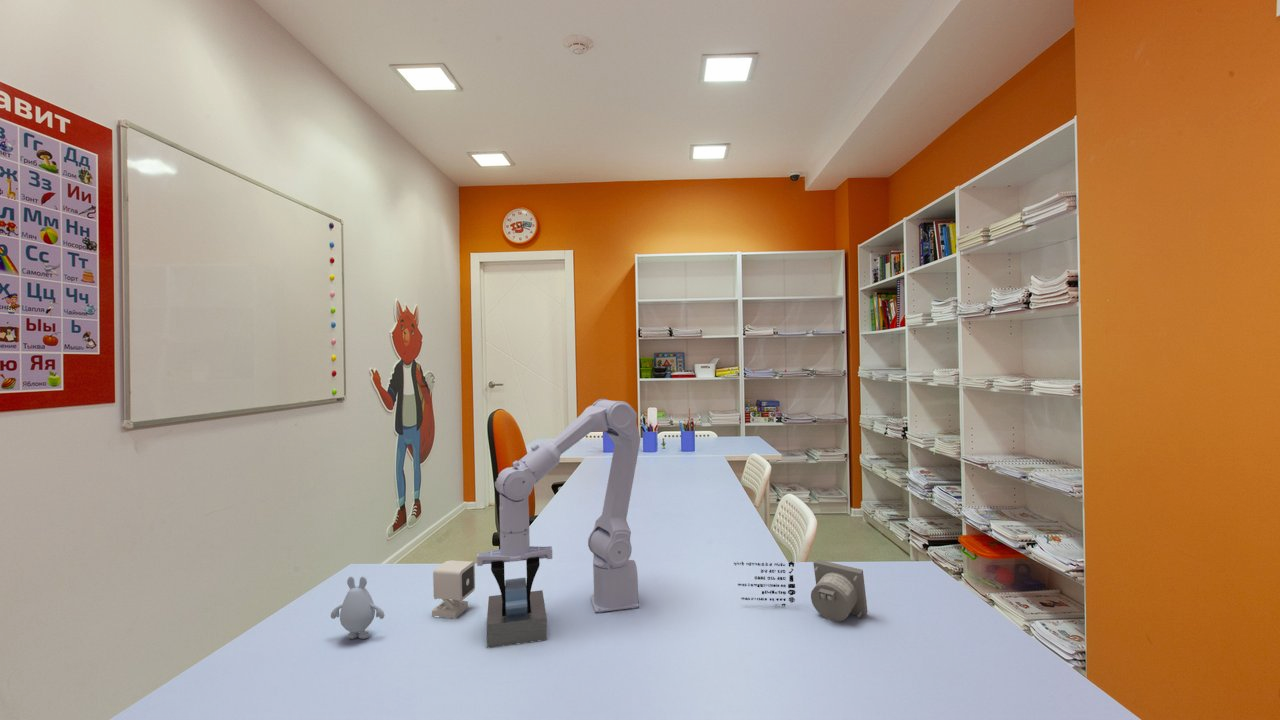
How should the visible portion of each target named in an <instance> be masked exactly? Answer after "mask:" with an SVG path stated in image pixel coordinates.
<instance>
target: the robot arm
mask: <svg viewBox="0 0 1280 720" xmlns="http://www.w3.org/2000/svg"><path fill="white" fill-rule="evenodd" d="M637 419H638V413H637V411H635V409H634V408H633V407H632V406H631V404H629V403H628V402H626V401H622V400H609V399H607V398H599V399H597V400H596V401H594V402H593V403H592V405H589V406H587V407H586V408H585V409H584V411H583V412H582V413H581V414H580V415H579V416H578V417H577V418H575V419H574V420H573V421H572V422H571V423H570V424H569V425H568V426H567V427H566V428H565V429H563V430H562V431H561V432H560V433H559V434H558V435H557V436H556V437H555V438H553V440H551V441H550V442H543V441H542V442H540V443H539V444H537V443H534V444H532V445H531V447H530V449H531V450H530V451H529V452H528V453H527V454H525V455H524V456H523V457H521V458H520V459H519V460H514V461H513V462H512V465H513V466H510V467H506V468H504V469H502V470H501V471H500V472H499V473H498V475H497V476H498V477H497V478H496V480H495V481H494V486H495V489H496V491H497V492H498V493H499V507H498V509H499V511H498V512H499V542H500V543H499V547H500V548H499V549H494V550H489V551H484V552H478V553H477V554H476V566H477V567H481V566H483V565H490V571H491V574H492V575H493V577H494V578H495V581H496V583H497V585H498V588H499V591H500V595H502V601H506V597H505V580H506V579H505V563H513V562H520V561H525V562H526V590H527V598H530V592H531V591H532V587H533V583H534V580H535V578H536V575H537V572H538V570H539V568H540V564H541V563H540V560H542V559H546V560H552V559H553V546H551V545H550V546H530V545H531V544H530V506H529V496H530V495H531V493H532V491H533V489H534V485H536V484H537V483H539V481H540V480H542V479H543V478H544V477H545V476H546V475H548V474H549V473H550V472H551V471H553V469H555V468H556V467H557V466H558V465H559V464H560V459H561V455H562V454H564V453H565V452H566V451H569V449H570V448H572V447H573V446H574V445H575V444H577V443H579V442H580V441H581V440H582V439H583V438H584V437H586V436H588V435H589V434H590V433H596V432H597V433H598V432H605V433H606V434H607V435H608V437H609V438H610V440H611V441H612V442H613V444H614V447H613V452H612V458H611V463H610V470H609V474H608V480H607V483H606V484H607V487H606V490H605V495H604V502H603V506H602V507H603V508H602V511H601V515H600V516H599V517H597V519H596V520H595V522H594V528H593V529H592V531H591V532H590V533H589V537H588V538H587V546H588V549H589V551H590V552H591V553H592V554H593V555H592V556H593V559H592V565H593V566H592V567H593V569H592V570H593V572H592V573H593V594H591V595H590V596H589V599H590V602H591V604H592V607H593V610H594V613H603V612H604V613H605V612H611V611H619V610H627V609H636V608H639V607H640V604H639V577H638V568H637V564H636V561H635V560H634V559H630V558H631V555H632V552H633V551H632V550H633V549H632V544H631V535H632V532H631V528H630V527H629V524H628V521H627V517H628V512H629V507H630V501H631V495H632V488H633V483H634V478H635V472H636V467H637V461H638V456H639V451H640V443H641V436H640V432H639V428H638V425H637Z"/></svg>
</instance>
